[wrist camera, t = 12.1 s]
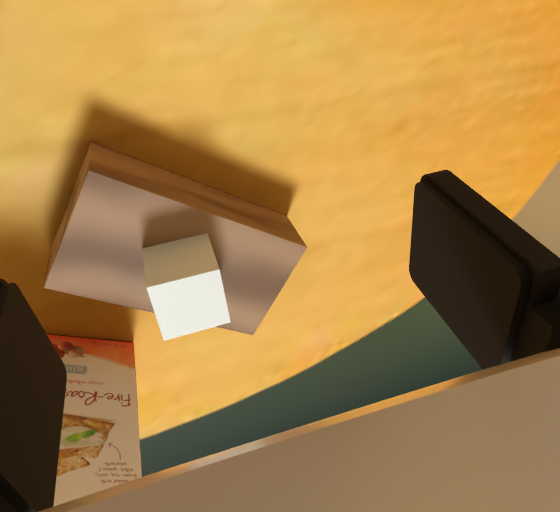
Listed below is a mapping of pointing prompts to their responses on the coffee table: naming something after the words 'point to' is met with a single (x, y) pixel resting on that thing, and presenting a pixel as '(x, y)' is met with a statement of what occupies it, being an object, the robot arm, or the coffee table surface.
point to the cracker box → (97, 417)
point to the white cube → (185, 286)
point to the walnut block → (166, 236)
